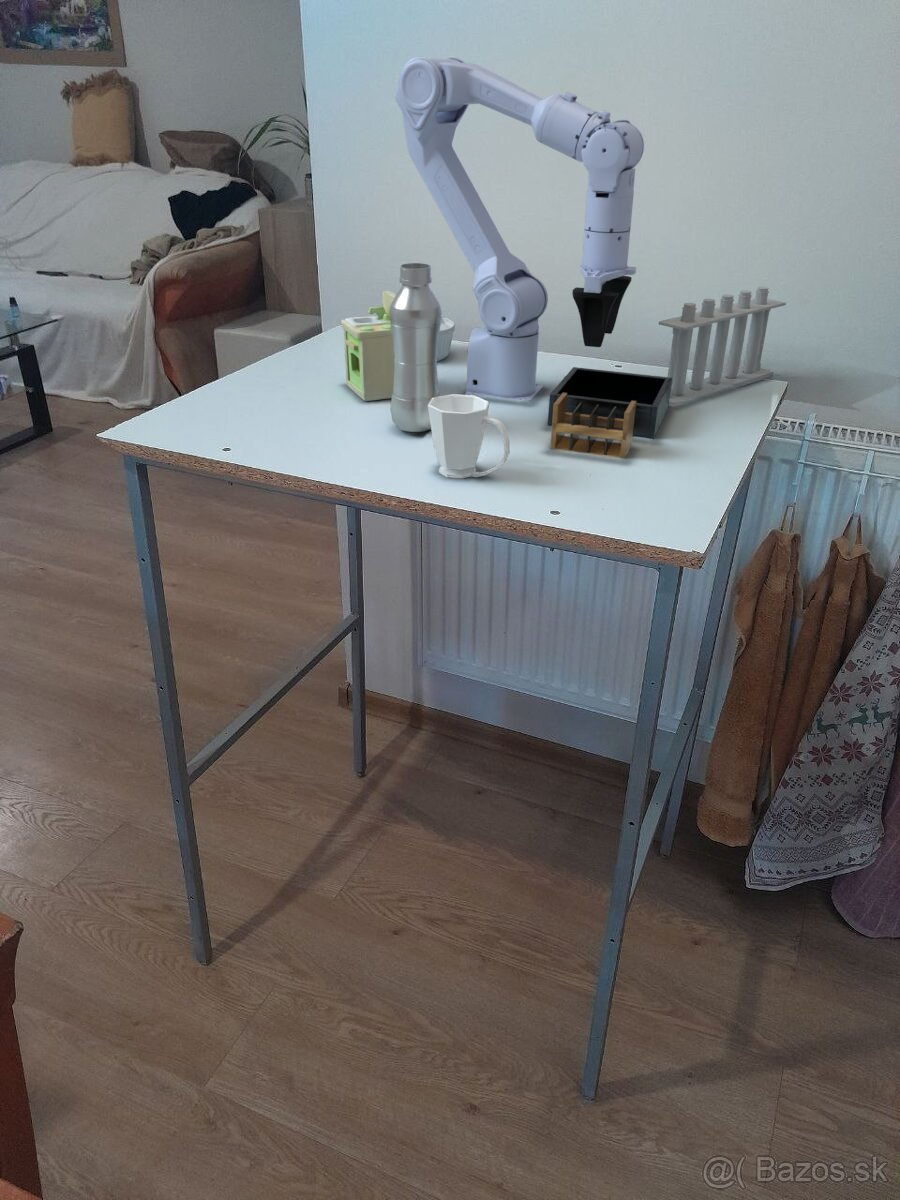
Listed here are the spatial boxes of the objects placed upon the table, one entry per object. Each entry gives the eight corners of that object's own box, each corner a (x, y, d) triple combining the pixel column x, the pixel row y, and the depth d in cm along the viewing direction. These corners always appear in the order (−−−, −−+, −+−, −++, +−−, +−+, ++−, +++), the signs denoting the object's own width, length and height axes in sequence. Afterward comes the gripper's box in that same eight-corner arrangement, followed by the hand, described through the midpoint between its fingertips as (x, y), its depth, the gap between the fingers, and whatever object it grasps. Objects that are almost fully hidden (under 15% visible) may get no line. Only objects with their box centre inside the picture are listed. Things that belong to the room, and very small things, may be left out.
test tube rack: (673, 408, 129) (687, 310, 123) (647, 401, 132) (659, 304, 125) (773, 376, 144) (790, 287, 137) (748, 369, 147) (763, 282, 140)
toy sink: (341, 385, 136) (337, 292, 130) (389, 380, 139) (388, 288, 132) (360, 402, 129) (357, 305, 123) (410, 397, 132) (409, 301, 125)
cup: (448, 455, 112) (449, 389, 108) (521, 474, 108) (525, 405, 104) (414, 474, 107) (414, 405, 103) (490, 494, 102) (493, 422, 98)
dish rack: (549, 452, 114) (553, 403, 111) (559, 440, 118) (562, 392, 115) (624, 462, 111) (629, 413, 108) (630, 449, 115) (636, 400, 112)
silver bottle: (448, 424, 122) (451, 263, 112) (430, 441, 117) (431, 273, 107) (402, 418, 124) (400, 259, 114) (382, 434, 118) (379, 268, 108)
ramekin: (461, 363, 147) (462, 329, 144) (390, 366, 145) (390, 332, 142) (446, 345, 157) (446, 312, 154) (379, 347, 154) (379, 315, 152)
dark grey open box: (547, 429, 121) (549, 394, 119) (570, 399, 132) (573, 366, 130) (653, 443, 117) (657, 407, 115) (668, 410, 128) (672, 377, 126)
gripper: (629, 239, 110) (619, 355, 117) (648, 223, 122) (637, 329, 129) (570, 236, 112) (563, 350, 119) (594, 221, 124) (587, 325, 131)
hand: (598, 339), depth 124 cm, fingers open, 7 cm apart
